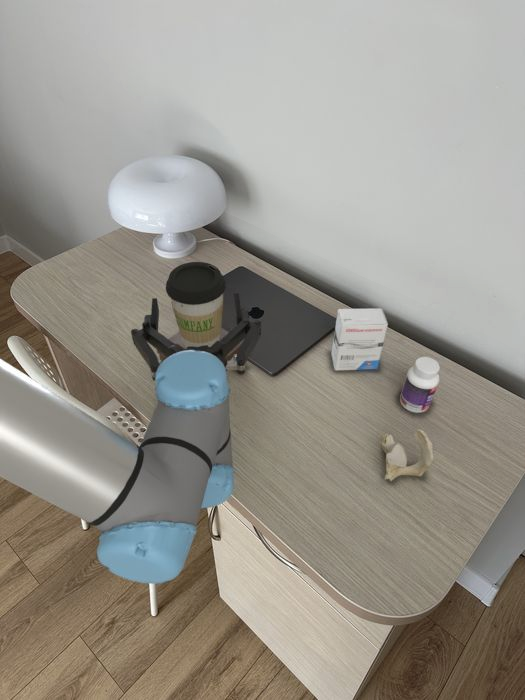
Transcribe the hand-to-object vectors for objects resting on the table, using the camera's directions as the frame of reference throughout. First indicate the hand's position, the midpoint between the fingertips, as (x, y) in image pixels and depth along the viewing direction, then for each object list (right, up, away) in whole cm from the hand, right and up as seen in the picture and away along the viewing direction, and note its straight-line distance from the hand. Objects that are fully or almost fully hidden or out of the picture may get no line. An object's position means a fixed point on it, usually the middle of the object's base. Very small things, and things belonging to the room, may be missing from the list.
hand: (196, 302), depth 83 cm
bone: (+33, -28, -4) cm, 43 cm away
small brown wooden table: (0, -12, +11) cm, 17 cm away
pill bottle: (+39, -18, +6) cm, 43 cm away
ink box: (+29, -11, +14) cm, 34 cm away
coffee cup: (0, -7, +7) cm, 10 cm away
